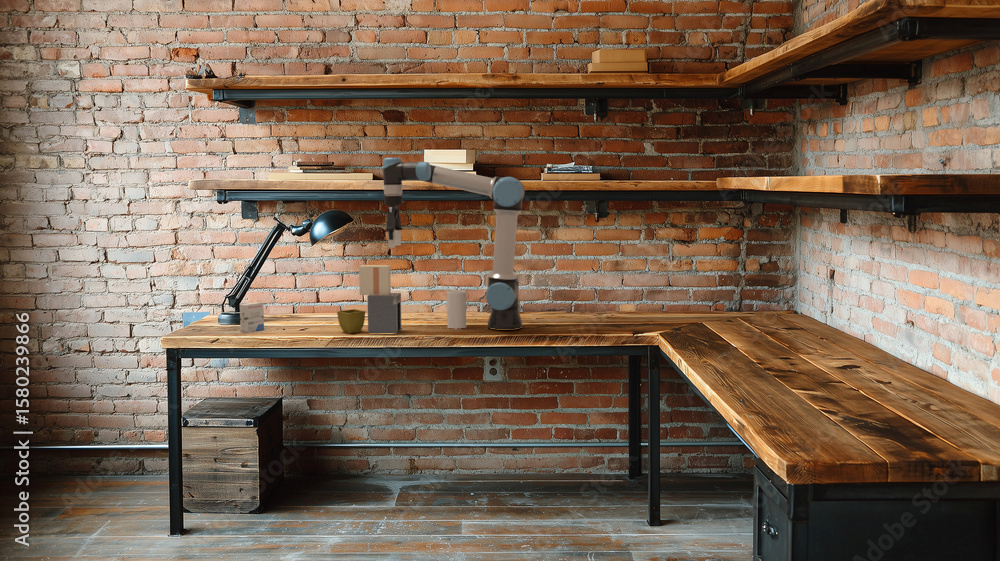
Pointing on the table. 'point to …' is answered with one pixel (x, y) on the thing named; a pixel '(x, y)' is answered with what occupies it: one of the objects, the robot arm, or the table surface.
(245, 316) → the ink box
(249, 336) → the table surface
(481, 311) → the table surface
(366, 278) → the striped beige block
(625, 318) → the table surface
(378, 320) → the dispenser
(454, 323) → the cup
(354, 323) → the flower pot
